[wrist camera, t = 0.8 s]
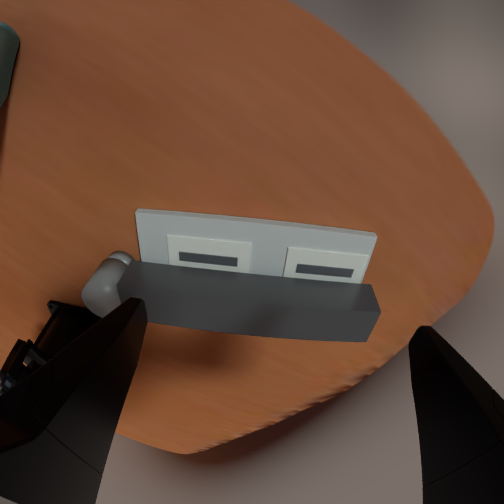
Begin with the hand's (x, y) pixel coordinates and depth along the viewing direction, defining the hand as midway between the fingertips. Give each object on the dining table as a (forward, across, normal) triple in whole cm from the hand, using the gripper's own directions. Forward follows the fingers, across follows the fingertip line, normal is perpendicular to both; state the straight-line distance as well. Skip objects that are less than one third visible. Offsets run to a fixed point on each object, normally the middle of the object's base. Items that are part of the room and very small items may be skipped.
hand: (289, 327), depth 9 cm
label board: (+11, +3, +7) cm, 13 cm away
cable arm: (+10, +3, +7) cm, 12 cm away
